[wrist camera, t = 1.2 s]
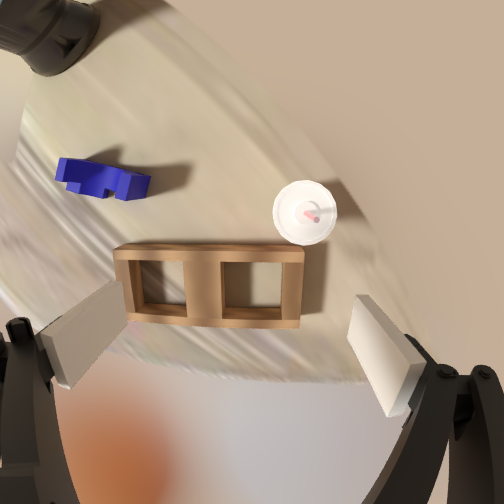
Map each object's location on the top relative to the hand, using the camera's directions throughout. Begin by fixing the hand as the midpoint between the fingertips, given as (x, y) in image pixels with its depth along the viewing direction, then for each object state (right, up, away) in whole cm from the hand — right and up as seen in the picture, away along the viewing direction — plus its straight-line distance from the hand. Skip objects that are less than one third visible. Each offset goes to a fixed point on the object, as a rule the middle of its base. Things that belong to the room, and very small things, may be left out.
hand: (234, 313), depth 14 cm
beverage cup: (+6, +9, +19) cm, 22 cm away
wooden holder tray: (-5, -1, +22) cm, 22 cm away
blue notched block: (-19, +13, +19) cm, 30 cm away
